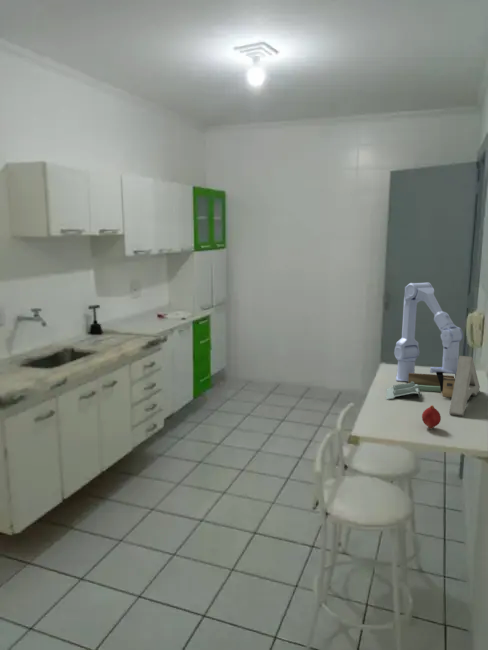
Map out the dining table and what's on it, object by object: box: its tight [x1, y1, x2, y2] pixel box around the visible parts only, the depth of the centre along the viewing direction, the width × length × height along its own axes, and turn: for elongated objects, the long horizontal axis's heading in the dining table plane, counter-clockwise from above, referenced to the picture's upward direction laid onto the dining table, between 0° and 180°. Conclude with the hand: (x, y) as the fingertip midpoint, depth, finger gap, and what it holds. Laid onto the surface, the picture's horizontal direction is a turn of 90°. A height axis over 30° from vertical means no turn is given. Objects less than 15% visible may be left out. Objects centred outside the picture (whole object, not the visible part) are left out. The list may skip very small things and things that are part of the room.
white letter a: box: [448, 355, 481, 417], centre depth 194 cm, size 22×4×30 cm
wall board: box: [407, 372, 455, 386], centre depth 215 cm, size 2×18×5 cm, turn 73°
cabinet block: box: [441, 377, 455, 398], centre depth 202 cm, size 6×4×6 cm
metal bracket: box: [385, 382, 423, 401], centre depth 203 cm, size 14×6×15 cm
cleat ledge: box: [417, 384, 442, 393], centre depth 212 cm, size 7×16×2 cm, turn 73°
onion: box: [421, 405, 442, 429], centre depth 167 cm, size 6×6×8 cm
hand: (448, 391), depth 203 cm, fingers closed on cabinet block, 4 cm apart
